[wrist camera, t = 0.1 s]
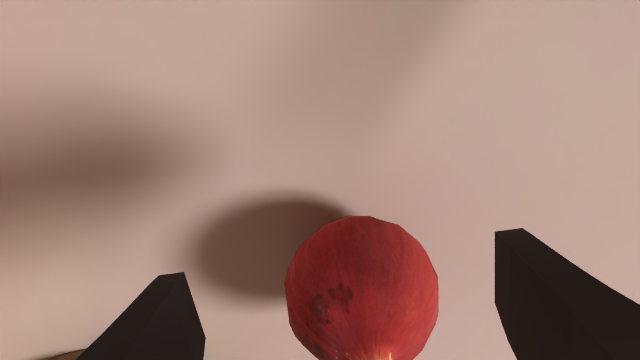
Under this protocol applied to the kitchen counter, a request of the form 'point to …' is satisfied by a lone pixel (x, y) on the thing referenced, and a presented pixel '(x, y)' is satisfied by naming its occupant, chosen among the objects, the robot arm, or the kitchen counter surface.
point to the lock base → (69, 356)
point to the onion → (362, 292)
